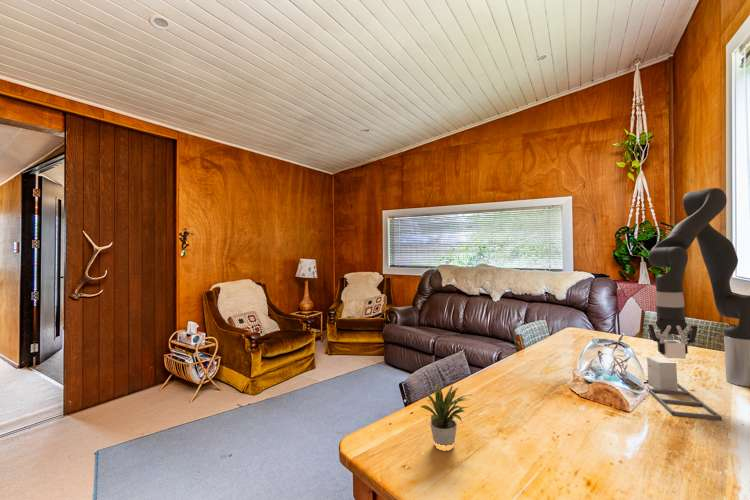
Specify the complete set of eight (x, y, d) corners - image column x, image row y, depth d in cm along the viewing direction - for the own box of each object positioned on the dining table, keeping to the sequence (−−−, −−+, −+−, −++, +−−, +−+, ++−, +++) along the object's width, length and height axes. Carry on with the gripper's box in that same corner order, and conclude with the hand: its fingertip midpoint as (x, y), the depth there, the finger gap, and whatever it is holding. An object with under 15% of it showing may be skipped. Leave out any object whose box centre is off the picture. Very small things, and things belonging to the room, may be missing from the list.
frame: (637, 381, 137) (637, 379, 137) (676, 384, 132) (675, 382, 132) (672, 414, 108) (671, 411, 108) (721, 420, 104) (721, 416, 104)
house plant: (461, 470, 83) (458, 401, 84) (409, 455, 91) (407, 391, 91) (478, 443, 95) (476, 382, 96) (430, 431, 103) (429, 375, 103)
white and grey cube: (660, 354, 124) (659, 339, 124) (677, 354, 122) (676, 339, 122) (668, 358, 119) (667, 342, 119) (685, 358, 117) (684, 343, 117)
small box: (678, 392, 125) (676, 363, 125) (660, 392, 126) (659, 362, 126) (664, 384, 133) (663, 356, 133) (647, 384, 134) (646, 356, 134)
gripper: (690, 303, 122) (693, 352, 121) (641, 303, 127) (643, 350, 127) (701, 306, 115) (704, 358, 114) (648, 306, 120) (651, 356, 120)
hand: (672, 354), depth 120 cm, fingers closed on white and grey cube, 5 cm apart
